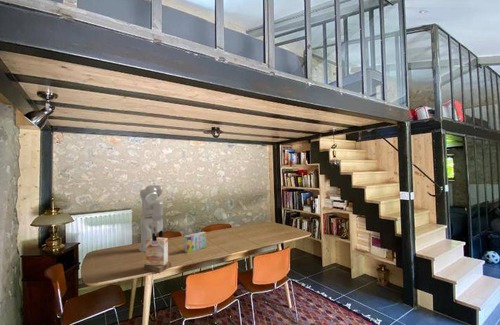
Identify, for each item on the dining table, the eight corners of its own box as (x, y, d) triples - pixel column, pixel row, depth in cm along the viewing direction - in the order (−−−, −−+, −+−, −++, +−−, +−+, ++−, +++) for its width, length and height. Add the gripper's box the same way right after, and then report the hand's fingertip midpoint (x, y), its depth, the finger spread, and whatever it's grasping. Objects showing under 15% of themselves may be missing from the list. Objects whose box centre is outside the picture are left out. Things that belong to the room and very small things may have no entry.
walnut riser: (156, 264, 197) (156, 259, 197) (170, 267, 190) (170, 262, 191) (144, 269, 187) (144, 264, 187) (159, 273, 180) (159, 268, 180)
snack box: (203, 246, 240) (203, 231, 240) (206, 247, 236) (206, 232, 236) (184, 251, 225) (184, 235, 225) (187, 253, 221) (187, 236, 221)
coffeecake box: (145, 264, 186) (145, 239, 186) (150, 261, 193) (150, 236, 193) (163, 265, 184) (163, 240, 184) (168, 262, 191) (168, 237, 191)
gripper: (158, 214, 198) (158, 235, 198) (147, 219, 181) (147, 242, 181) (167, 215, 197) (167, 235, 197) (156, 220, 180) (156, 242, 180)
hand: (157, 238), depth 189 cm, fingers open, 9 cm apart
